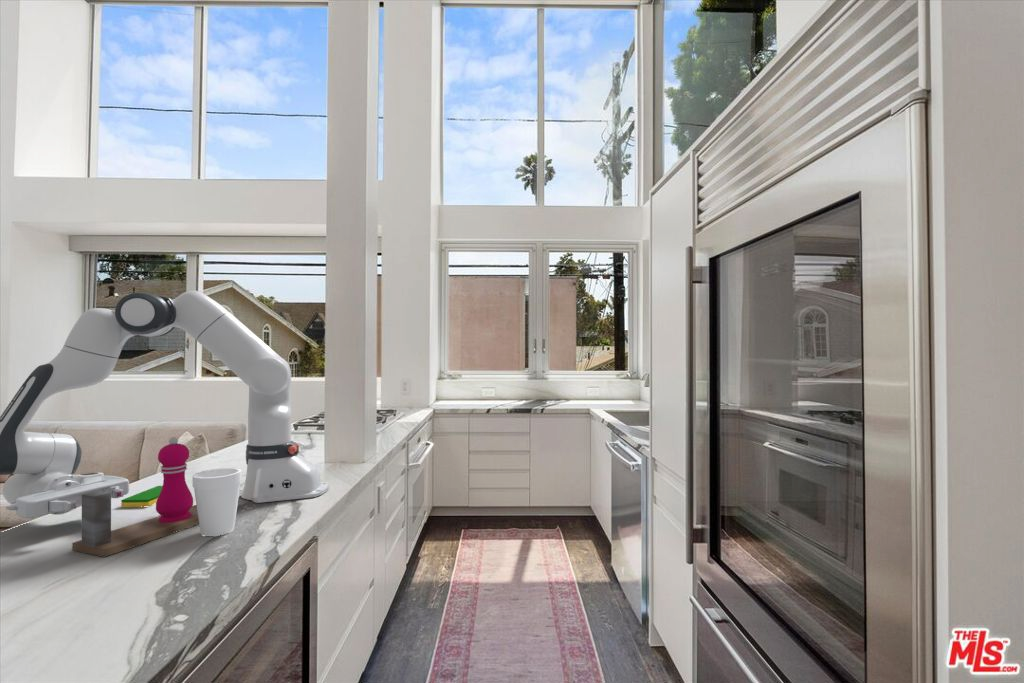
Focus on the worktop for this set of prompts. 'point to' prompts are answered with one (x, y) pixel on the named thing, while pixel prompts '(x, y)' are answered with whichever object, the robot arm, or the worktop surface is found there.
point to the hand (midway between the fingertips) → (97, 499)
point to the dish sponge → (142, 498)
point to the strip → (108, 542)
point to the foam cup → (217, 499)
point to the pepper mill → (174, 483)
